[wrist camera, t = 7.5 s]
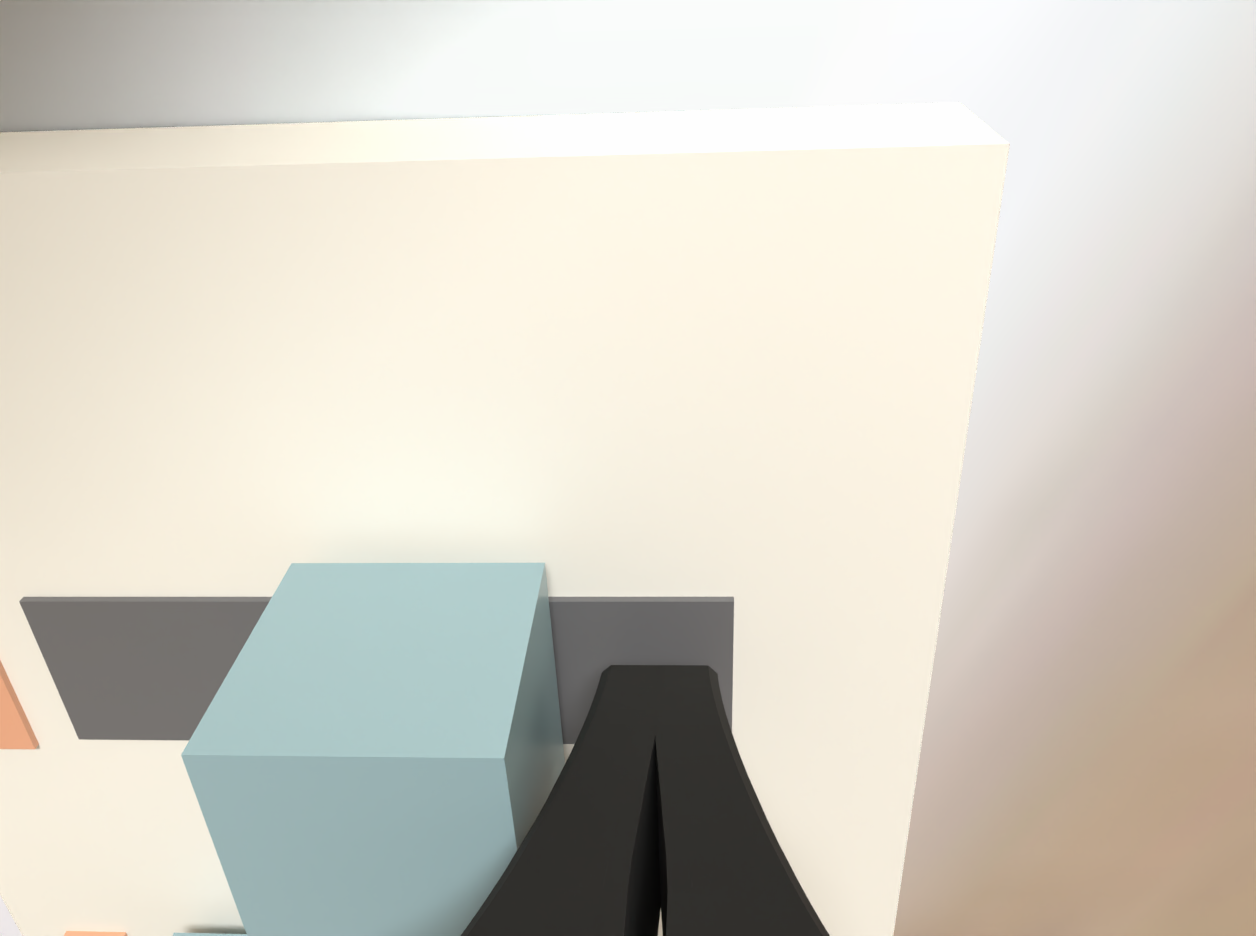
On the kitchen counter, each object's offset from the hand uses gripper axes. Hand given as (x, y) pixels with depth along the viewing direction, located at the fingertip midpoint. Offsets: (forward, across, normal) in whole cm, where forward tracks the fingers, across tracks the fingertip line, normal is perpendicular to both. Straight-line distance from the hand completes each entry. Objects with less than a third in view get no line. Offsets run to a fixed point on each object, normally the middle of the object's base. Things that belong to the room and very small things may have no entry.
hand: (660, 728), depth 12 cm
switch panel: (+3, +4, +4) cm, 6 cm away
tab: (+1, +3, 0) cm, 3 cm away
